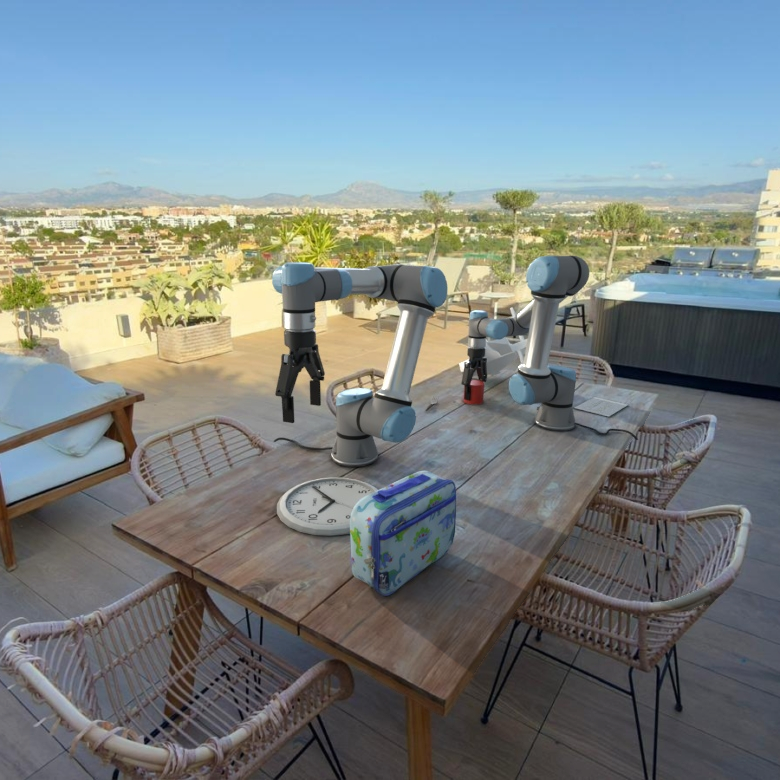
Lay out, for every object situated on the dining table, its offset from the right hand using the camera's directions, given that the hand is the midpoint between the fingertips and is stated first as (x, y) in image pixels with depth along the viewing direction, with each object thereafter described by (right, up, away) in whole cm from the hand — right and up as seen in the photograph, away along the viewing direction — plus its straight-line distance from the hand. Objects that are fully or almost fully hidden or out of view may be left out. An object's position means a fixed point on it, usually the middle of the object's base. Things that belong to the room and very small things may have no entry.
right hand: (473, 397), depth 230 cm
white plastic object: (+16, +6, +27) cm, 32 cm away
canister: (0, -2, +1) cm, 2 cm away
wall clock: (-52, -28, -87) cm, 105 cm away
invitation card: (+55, -4, -3) cm, 55 cm away
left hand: (-59, -2, -99) cm, 115 cm away
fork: (-19, -4, -7) cm, 21 cm away
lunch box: (-34, -37, -113) cm, 123 cm away
